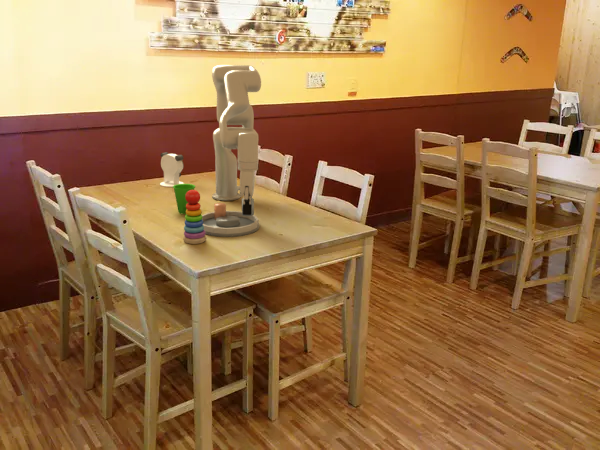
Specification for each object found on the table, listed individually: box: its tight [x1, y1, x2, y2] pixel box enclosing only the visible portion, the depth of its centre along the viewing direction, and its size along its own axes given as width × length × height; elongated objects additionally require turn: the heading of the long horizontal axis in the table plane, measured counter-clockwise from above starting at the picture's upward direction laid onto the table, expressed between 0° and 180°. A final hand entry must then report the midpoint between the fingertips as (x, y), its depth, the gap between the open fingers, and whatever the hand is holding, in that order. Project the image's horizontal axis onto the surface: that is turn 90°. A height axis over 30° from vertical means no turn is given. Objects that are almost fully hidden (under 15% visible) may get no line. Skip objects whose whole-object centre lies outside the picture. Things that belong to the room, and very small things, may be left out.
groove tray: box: [201, 210, 260, 238], centre depth 223 cm, size 24×24×3 cm
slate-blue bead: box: [241, 197, 255, 216], centre depth 221 cm, size 4×4×6 cm
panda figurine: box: [159, 151, 185, 188], centre depth 283 cm, size 12×11×15 cm
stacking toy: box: [182, 189, 207, 245], centre depth 204 cm, size 8×8×19 cm
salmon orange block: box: [213, 202, 227, 220], centre depth 228 cm, size 4×4×6 cm
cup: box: [172, 183, 196, 215], centre depth 239 cm, size 9×9×11 cm
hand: (247, 212), depth 222 cm, fingers closed on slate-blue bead, 4 cm apart
